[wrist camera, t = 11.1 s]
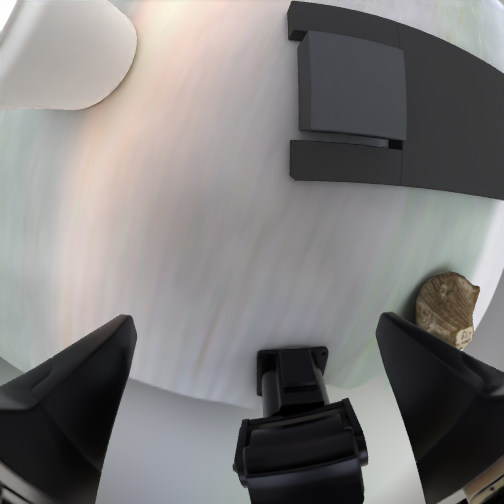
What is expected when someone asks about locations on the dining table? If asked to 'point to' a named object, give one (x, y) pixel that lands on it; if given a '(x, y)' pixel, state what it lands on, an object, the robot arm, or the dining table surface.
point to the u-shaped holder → (414, 113)
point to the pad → (351, 87)
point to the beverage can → (62, 52)
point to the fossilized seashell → (447, 308)
